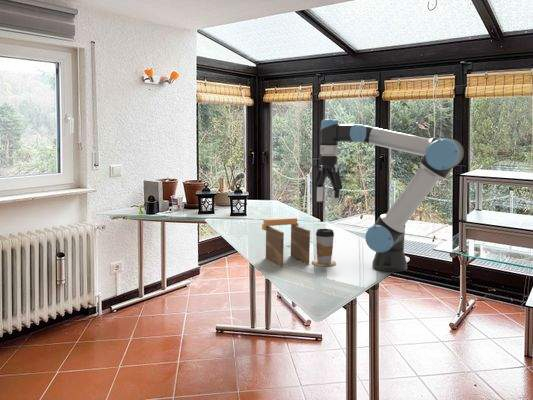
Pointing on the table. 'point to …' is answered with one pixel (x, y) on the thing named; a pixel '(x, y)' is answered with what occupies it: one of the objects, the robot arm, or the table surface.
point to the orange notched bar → (279, 222)
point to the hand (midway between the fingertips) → (327, 203)
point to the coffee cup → (324, 245)
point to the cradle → (298, 244)
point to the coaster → (323, 264)
